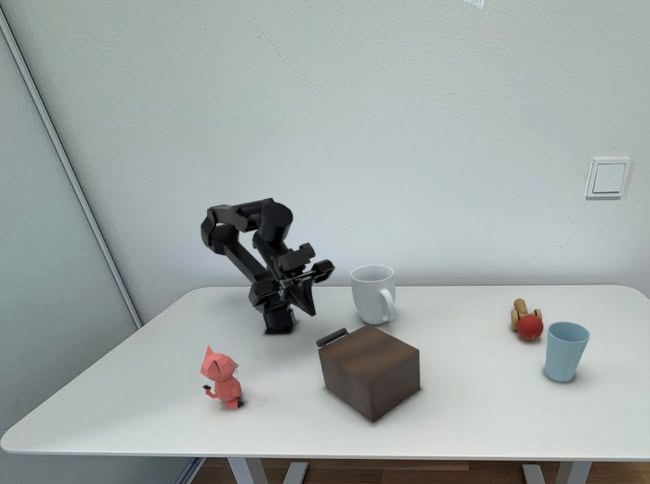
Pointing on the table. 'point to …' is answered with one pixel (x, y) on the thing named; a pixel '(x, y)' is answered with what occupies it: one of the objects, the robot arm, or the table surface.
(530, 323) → the kendama
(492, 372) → the table surface
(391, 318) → the mug
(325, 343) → the drawer
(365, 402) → the cabinet
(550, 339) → the cup
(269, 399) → the table surface
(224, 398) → the cat figurine
